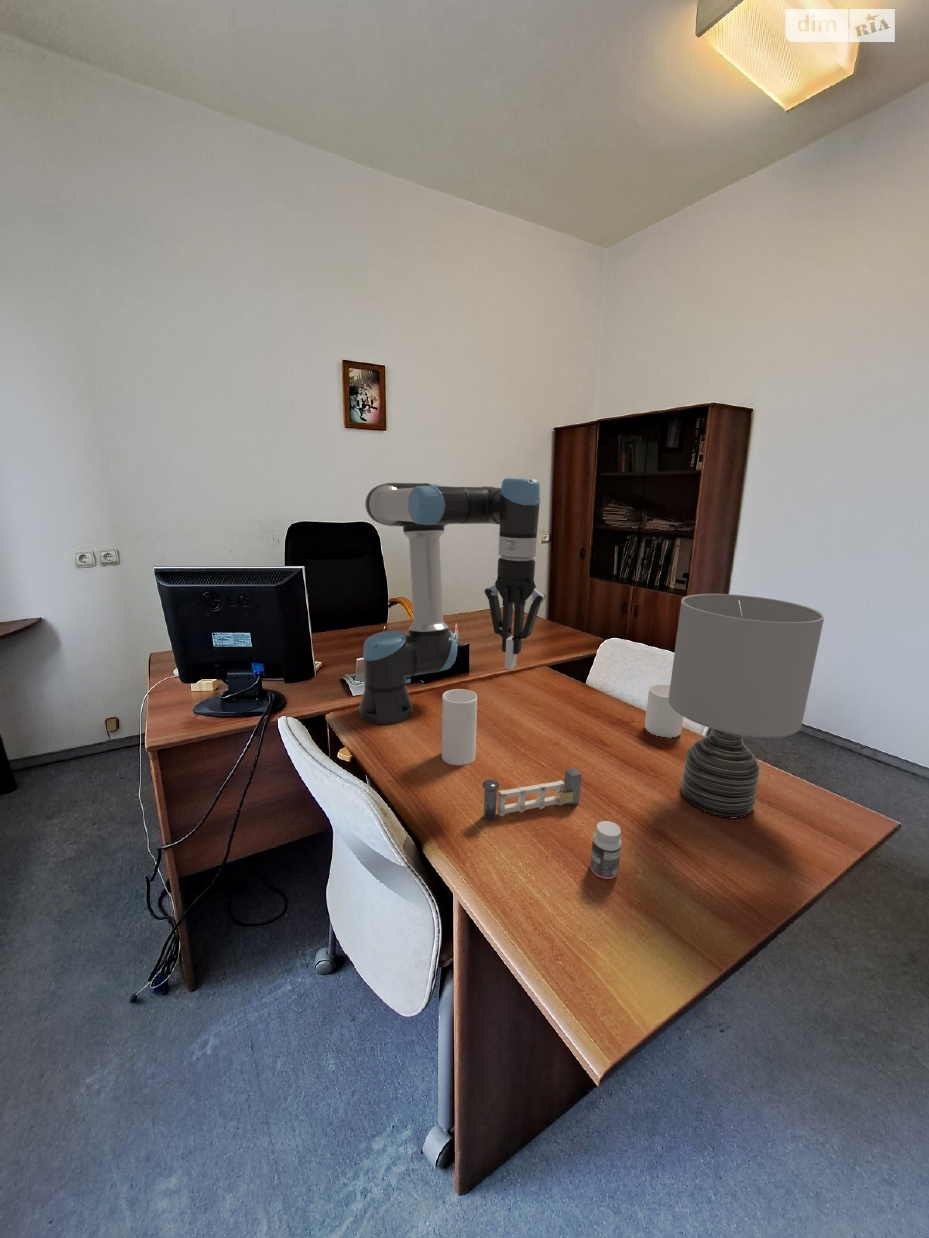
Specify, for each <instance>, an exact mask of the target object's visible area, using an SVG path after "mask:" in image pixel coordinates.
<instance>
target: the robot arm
mask: <svg viewBox="0 0 929 1238" xmlns="http://www.w3.org/2000/svg"><path fill="white" fill-rule="evenodd" d="M540 485H541V483H540V482H539V481H538V480H537V479H536V478H535V479H534V478H511V477H510V478H508V477H505V478H504V479H503V480H502V482H501V487H496V486H495V487H494V486H448V485H447V486H443V485H440V484H435V483H429V482H423V483H421V482H420V483H419V482H415V483H414V482H413V483H412V482H407V483H406V482H385V483H381V484H379V485H376V486H374V487H373V488H371V490H370V491H369V492H368V493H367V495H366V498H365V503H364V505H365V510H366V513H367V515H368V516H369V517H370V518H371V520H373V521H374V522H376V523H378V524H380V525H383V526H389V527H402V528H403V529H402V530H403V534H404V535H405V536H406V537H407V538H408V541H409V542H408V543H409V545H408V546H409V557H410V558H409V561H410V578H411V579H410V580H411V598H412V600H411V601H412V616H413V617H412V619H413V622H412V624H411V625H410V626H409V627H408V635H406V634H405V632H404V631H400V630H392V631H391V630H386V631H381V632H377V633H374V634H371V636H369V637H368V638H366V640H365V641H364V643H363V653H362V658H363V669H364V670H363V673H364V676H363V677H364V691H363V694H362V697H361V699H360V703H359V709H358V710H359V711H358V712H359V713H358V715H359V717H360V719H361V720H363V721H365V722H367V723H371V724H376V725H389V724H390V725H391V724H396V723H401V722H402V721H406V720H407V719H409V717H411V716H412V714H413V703H412V700H411V697H410V694H409V692H408V689H407V677H412V676H419V675H425V674H426V675H427V674H431V673H435V674H436V673H439V672H443V671H448V670H449V669H451V668H452V666H453V665H454V663H455V662H456V658H457V656H458V655H457V654H458V643H457V642H458V641H457V640H456V635H455V633H453V631H451V630H449V625H448V624H447V623H446V622H445V621H444V616H443V612H444V611H443V593H442V592H443V591H442V572H441V571H442V570H441V567H442V566H441V550H440V549H441V546H440V545H441V543H440V537H441V536H442V535H443V534H444V533H445V527H446V526H447V525H468V524H469V525H470V524H471V525H472V524H473V525H475V524H477V525H478V524H479V525H480V524H493V525H499V533H498V535H499V537H498V538H499V539H498V553H497V554H498V555H499V556H500V557H499V558H498V559H497V573H496V574H497V577H496V578H497V579H496V580H495V582H494V585H492V586H489V587H487V588H485V589H484V594H485V596H486V598H487V600H488V605H489V610H490V615H491V621H492V622H491V623H492V628H493V632H494V634H496V635H499V636H500V637H501V640H502V642H501V651H502V652H503V653H505V657H504V669H507V670H513V669H514V668H515V667H516V666H517V656H518V655H519V654H520V653H521V651H522V640H523V639H525V640H526V639H527V638H528V637H529V636H531V635H532V632H533V629H534V625H535V623H536V620H537V616H538V613H539V611H540V606H541V604H542V603H543V602H544V601H545V599H546V598H547V596H546V594H545V593H541V592H540V591H539V590H537V589H536V587H537V586H536V584H535V571H536V570H535V569H536V560H535V559H534V558H535V557H536V556H537V542H538V541H537V540H538V536H537V535H538V529H539V527H538V524H539V514H540V503H541V498H540V494H541V492H540V491H541V490H540V488H541V487H540ZM498 595H500V597H501V599H502V609H501V604H500V600H499V599H500V598H499V596H498ZM530 597H531V600H532V603H530V606H529V609H528V613H527V617H526V620H525V619H524V618H525V607H526V602H527V600H528V599H529V598H530ZM513 609H514V610H513ZM513 611H514V613H513ZM513 614H514V617H513ZM524 621H525V623H524ZM512 627H513V631H512ZM512 634H513V635H512Z"/></svg>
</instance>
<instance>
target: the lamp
mask: <svg viewBox="0 0 929 1238" xmlns="http://www.w3.org/2000/svg"><path fill="white" fill-rule="evenodd" d="M680 601H681V602H680V610H679V617H678V623H677V624H678V625H677V633H676V639H675V647H674V654H673V662H672V669H671V678H670V683H669V684H670V691H669V699H668V700H669V704H670V705H671V707H672V708H673V709H674V710H675V711H676V712H678V713H679V714H680V715H682V716H684V717H683V718H685V719H687V720H689V721H691V722H694V723H696V724H697V725H700V726H703V727H706V728H709V729H711V731H710V733H709V734H708V735H707V736H704V737H702V738H700V739H698V740H696V741H695V742H694V743H692V744H691V745H690V746H689V748H688V749H687V752H686V754H685V761H684V764H683V765H684V767H683V774H682V779H681V787H680V788H681V789H680V790H681V794H682V797H683V798H684V797H685V798H684V799H685V800H686V802H688V803H689V804H690V803H691V804H692V806H693V805H694V806H695V807H694V806H693V807H694V808H696V809H698V808H699V809H701V810H702V812H704V811H705V812H704V813H706V812H708V813H707V814H709V813H710V814H709V815H712V814H715V815H718V816H717V817H719V816H722V817H721V818H724V817H728V818H727V819H732V818H731V817H741V816H744V815H747V814H749V813H750V812H751V811H752V812H753V810H754V805H755V802H756V796H757V790H758V783H759V779H760V772H761V769H760V768H761V767H760V765H759V763H758V760H757V758H756V756H755V755H754V754H753V753H752V752H751V750H750V749H749V748H748V747H747V746H746V745H745V744H744V741H743V737H750V738H757V739H758V738H763V739H764V738H765V739H767V738H768V739H769V738H770V739H772V738H785V737H789V736H792V735H795V734H797V733H798V732H799V731H800V730H801V729H802V725H803V721H804V716H805V713H806V712H805V711H806V707H807V703H808V702H807V701H808V698H809V697H808V696H809V693H810V688H811V684H812V683H811V682H812V679H813V678H812V676H813V672H814V669H815V663H816V658H817V654H818V648H819V644H820V639H821V634H822V631H823V626H824V625H823V624H824V619H825V615H824V614H823V613H822V612H821V611H819V610H817V609H814V608H812V607H809V606H807V605H802V604H799V603H794V602H791V601H786V600H785V601H784V600H780V599H774V598H768V597H762V596H761V597H760V596H754V595H741V594H728V593H703V594H702V593H700V594H699V593H698V594H691V595H687V596H684V597H682V599H681V600H680ZM691 804H690V805H691ZM699 809H698V810H699ZM701 810H700V811H701ZM752 812H751V813H752ZM751 813H750V814H751ZM750 814H749V815H750ZM715 815H714V816H715ZM747 816H748V815H747ZM741 818H742V817H741Z"/></svg>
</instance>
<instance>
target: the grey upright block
mask: <svg viewBox="0 0 929 1238" xmlns="http://www.w3.org/2000/svg"><path fill="white" fill-rule="evenodd" d="M563 782H564V783H565V785H564V790H563V791H558V798H557V802H558V803H559V805H558V806H561V805H560V804H563V805H565V804H566V805H567V806H568V807H570V806H575V805H576V806H577V805H580V795H581V785H582V784H581V783H582V773H581V772H580V771H579V770H578V769H577V768H567V769H565V770H564V781H563Z"/></svg>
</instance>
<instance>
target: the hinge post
mask: <svg viewBox="0 0 929 1238" xmlns="http://www.w3.org/2000/svg"><path fill="white" fill-rule="evenodd" d="M499 788H500V784H499V782H498V781H497V780H494V779H486V780H484V781H483V782H482V789H484V790H483V791H484V792H483V793H484V795H483V798H484V799H483V819H484V821H487V822H488V821H489V822H491V821H495V820H496V818H497V817H496V816H497V815H496V814H497V793H498V791H497V790H498V789H499Z"/></svg>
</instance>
